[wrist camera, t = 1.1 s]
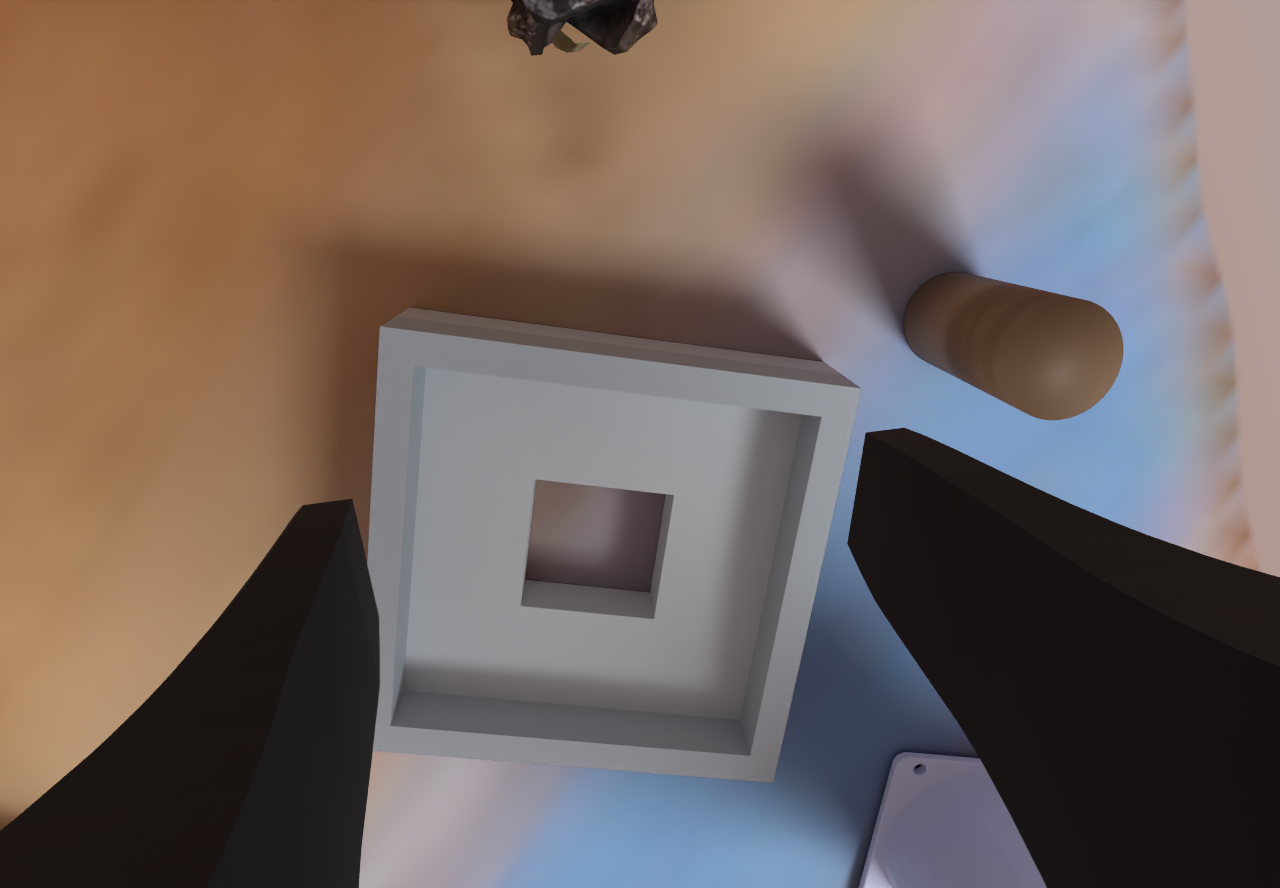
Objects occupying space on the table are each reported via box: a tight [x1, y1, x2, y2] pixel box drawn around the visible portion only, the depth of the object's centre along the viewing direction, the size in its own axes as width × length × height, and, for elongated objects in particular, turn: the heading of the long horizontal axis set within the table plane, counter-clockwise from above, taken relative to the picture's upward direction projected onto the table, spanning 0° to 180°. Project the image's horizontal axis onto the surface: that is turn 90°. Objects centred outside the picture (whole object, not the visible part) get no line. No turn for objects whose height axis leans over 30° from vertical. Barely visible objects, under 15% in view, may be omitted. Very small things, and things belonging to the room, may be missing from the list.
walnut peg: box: [904, 272, 1123, 420], centre depth 25 cm, size 3×3×7 cm
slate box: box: [367, 308, 861, 783], centre depth 28 cm, size 14×14×4 cm
